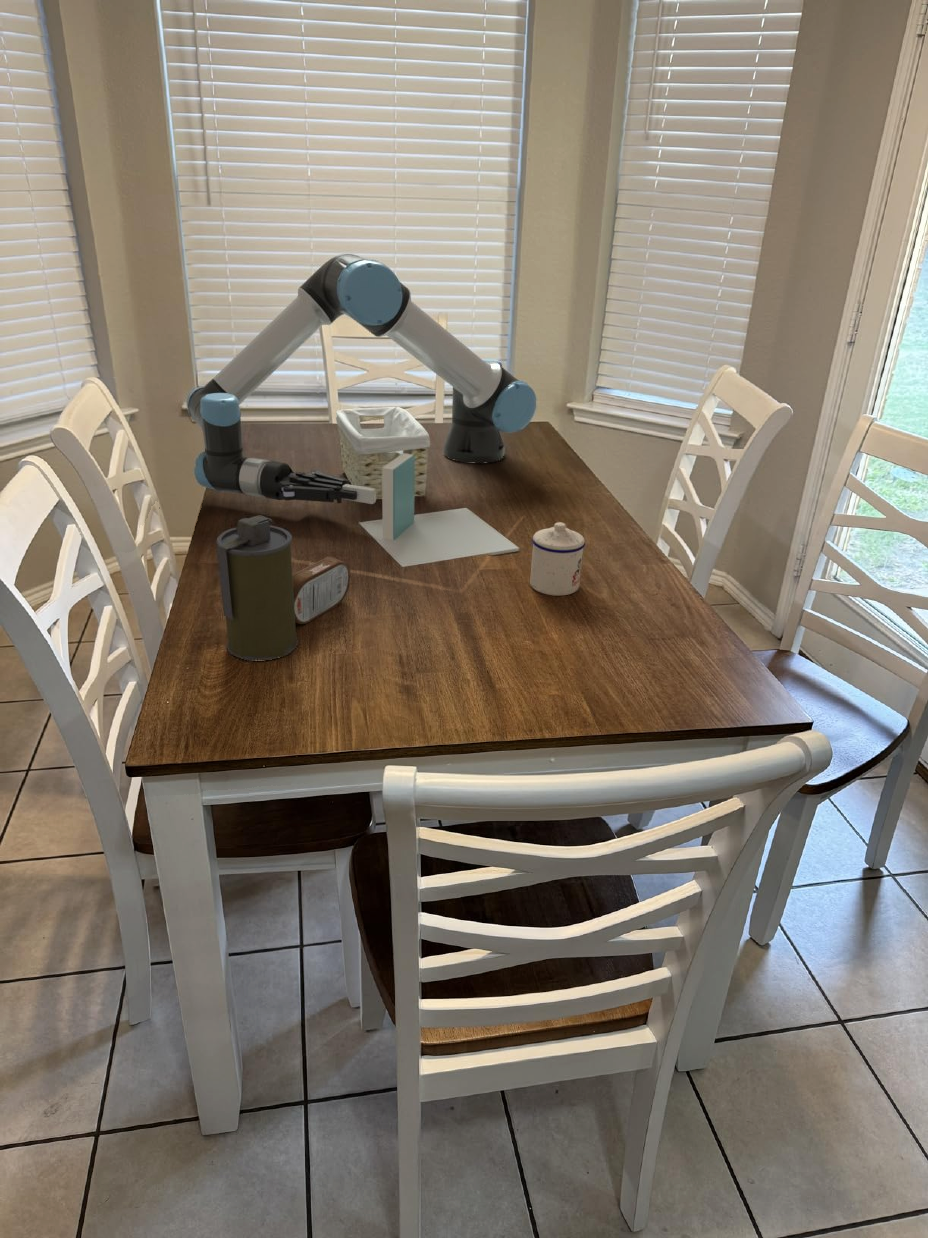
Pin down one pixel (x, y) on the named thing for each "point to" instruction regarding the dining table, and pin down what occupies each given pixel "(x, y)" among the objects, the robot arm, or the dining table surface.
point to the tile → (398, 495)
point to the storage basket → (381, 445)
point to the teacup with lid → (556, 560)
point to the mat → (441, 538)
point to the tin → (319, 588)
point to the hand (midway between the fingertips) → (374, 496)
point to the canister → (257, 589)
